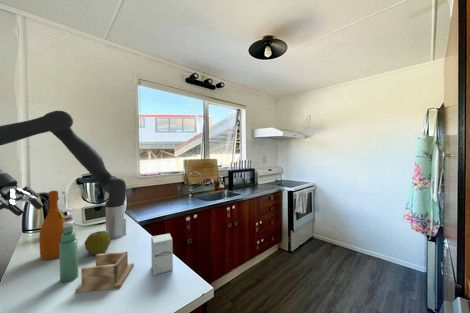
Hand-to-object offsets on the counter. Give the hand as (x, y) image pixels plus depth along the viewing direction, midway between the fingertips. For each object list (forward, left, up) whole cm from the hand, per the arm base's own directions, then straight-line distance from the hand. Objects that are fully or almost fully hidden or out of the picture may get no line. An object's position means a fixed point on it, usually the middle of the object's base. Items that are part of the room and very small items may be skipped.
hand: (32, 210), depth 73 cm
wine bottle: (-11, -19, -26) cm, 35 cm away
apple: (-23, -4, -26) cm, 35 cm away
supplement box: (-31, +33, -26) cm, 52 cm away
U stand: (-16, +21, -26) cm, 37 cm away
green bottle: (-8, +9, -26) cm, 29 cm away
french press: (-23, -50, -26) cm, 61 cm away
